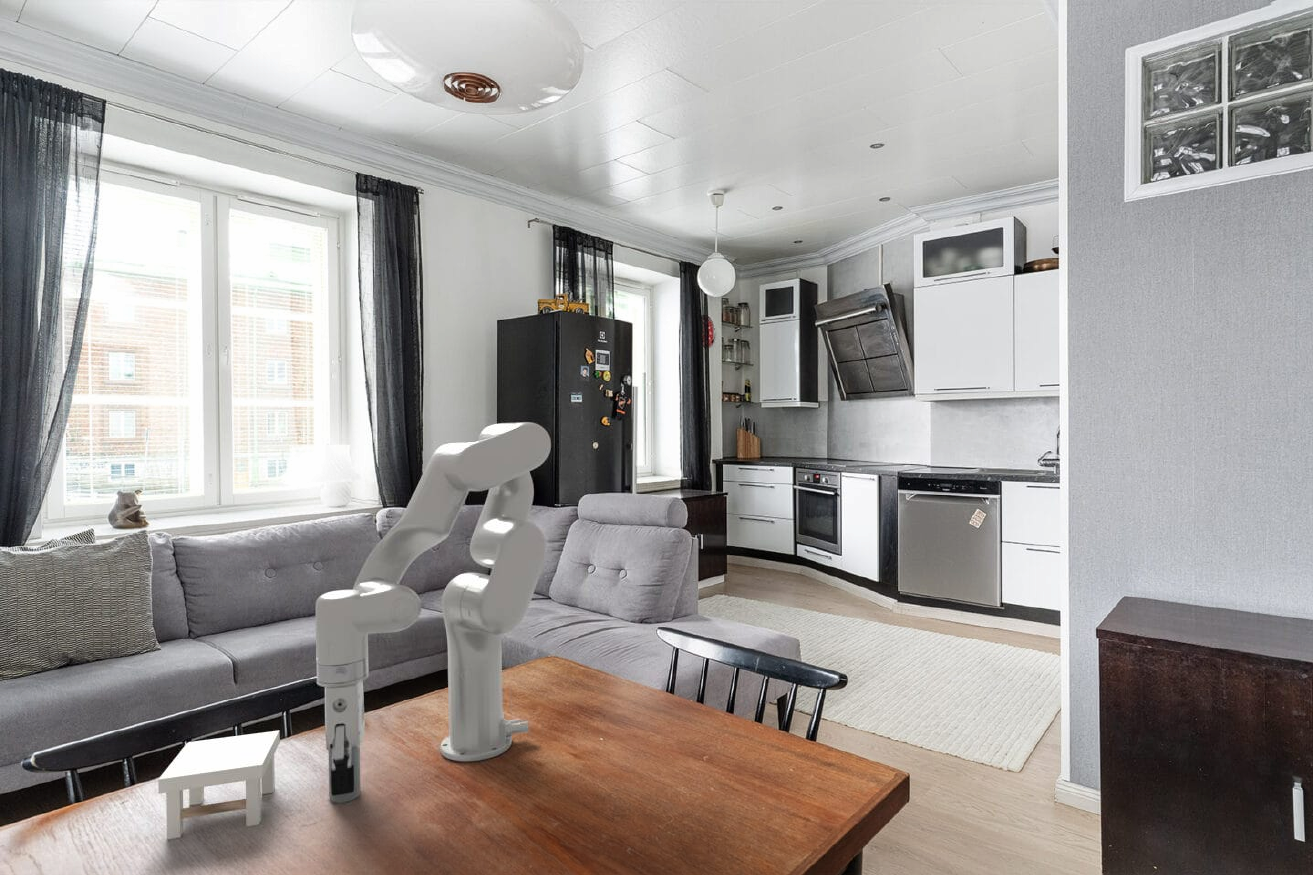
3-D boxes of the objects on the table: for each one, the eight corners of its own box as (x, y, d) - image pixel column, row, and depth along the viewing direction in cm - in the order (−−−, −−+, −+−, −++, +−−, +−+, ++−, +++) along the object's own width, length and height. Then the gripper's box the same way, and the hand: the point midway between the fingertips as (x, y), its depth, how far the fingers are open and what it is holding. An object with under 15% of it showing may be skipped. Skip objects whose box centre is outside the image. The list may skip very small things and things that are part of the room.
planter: (348, 804, 109) (347, 737, 109) (322, 801, 110) (321, 735, 110) (366, 789, 114) (365, 725, 114) (341, 787, 115) (340, 724, 115)
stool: (280, 785, 116) (279, 730, 116) (263, 825, 104) (262, 764, 104) (188, 799, 112) (187, 742, 112) (159, 843, 100) (158, 779, 100)
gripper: (363, 684, 105) (366, 806, 105) (372, 652, 121) (374, 758, 121) (308, 690, 103) (310, 816, 103) (324, 657, 119) (326, 765, 119)
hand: (344, 783), depth 112 cm, fingers open, 4 cm apart
